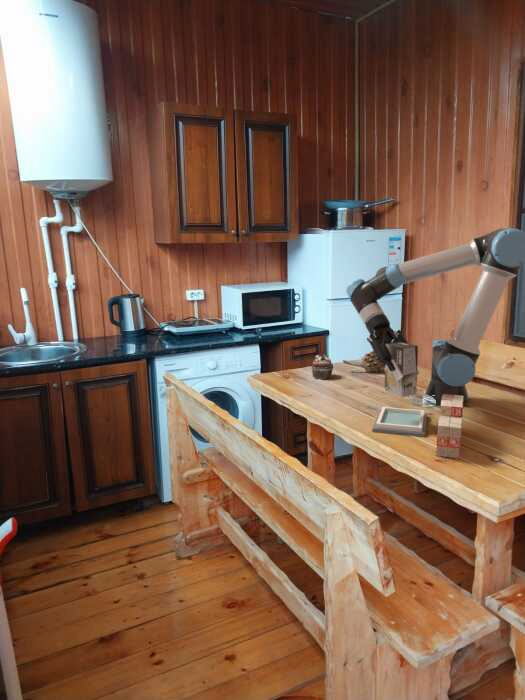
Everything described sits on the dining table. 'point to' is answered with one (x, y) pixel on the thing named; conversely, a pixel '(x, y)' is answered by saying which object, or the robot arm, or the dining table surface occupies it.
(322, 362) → the cupcake
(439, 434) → the stack of blocks
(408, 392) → the coffee box
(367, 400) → the dining table surface
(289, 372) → the dining table surface
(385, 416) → the holder board
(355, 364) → the pine cone
